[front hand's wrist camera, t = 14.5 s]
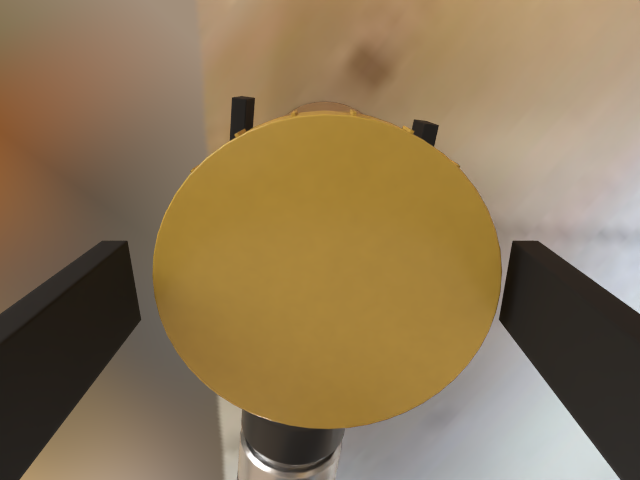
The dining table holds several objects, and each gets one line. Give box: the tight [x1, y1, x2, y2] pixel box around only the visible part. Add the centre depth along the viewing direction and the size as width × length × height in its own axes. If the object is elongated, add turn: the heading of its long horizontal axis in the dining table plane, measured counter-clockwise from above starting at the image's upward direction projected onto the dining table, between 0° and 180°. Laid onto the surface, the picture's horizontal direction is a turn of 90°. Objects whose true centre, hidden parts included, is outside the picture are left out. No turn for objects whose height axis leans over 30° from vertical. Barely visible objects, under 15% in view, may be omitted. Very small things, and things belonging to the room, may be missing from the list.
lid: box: [153, 109, 502, 429], centre depth 13 cm, size 10×10×2 cm
